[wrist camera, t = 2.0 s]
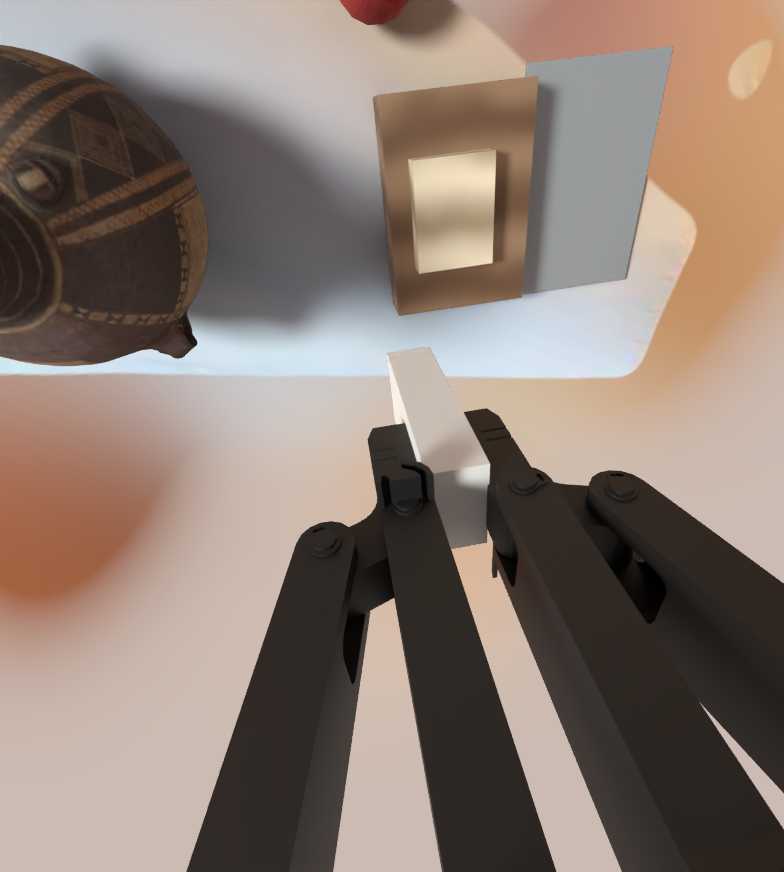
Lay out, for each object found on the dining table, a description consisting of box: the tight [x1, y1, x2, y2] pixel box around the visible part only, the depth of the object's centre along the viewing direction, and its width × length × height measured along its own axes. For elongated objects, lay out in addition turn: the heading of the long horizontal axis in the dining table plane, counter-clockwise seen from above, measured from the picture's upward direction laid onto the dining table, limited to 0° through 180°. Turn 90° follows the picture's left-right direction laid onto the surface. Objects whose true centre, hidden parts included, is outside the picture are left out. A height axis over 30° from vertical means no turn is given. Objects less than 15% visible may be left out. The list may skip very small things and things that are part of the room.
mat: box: [522, 46, 673, 294], centre depth 44 cm, size 20×13×1 cm, turn 6°
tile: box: [408, 149, 496, 274], centre depth 39 cm, size 9×7×2 cm
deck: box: [373, 76, 539, 316], centre depth 42 cm, size 18×13×4 cm
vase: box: [0, 45, 209, 366], centre depth 27 cm, size 23×19×30 cm
